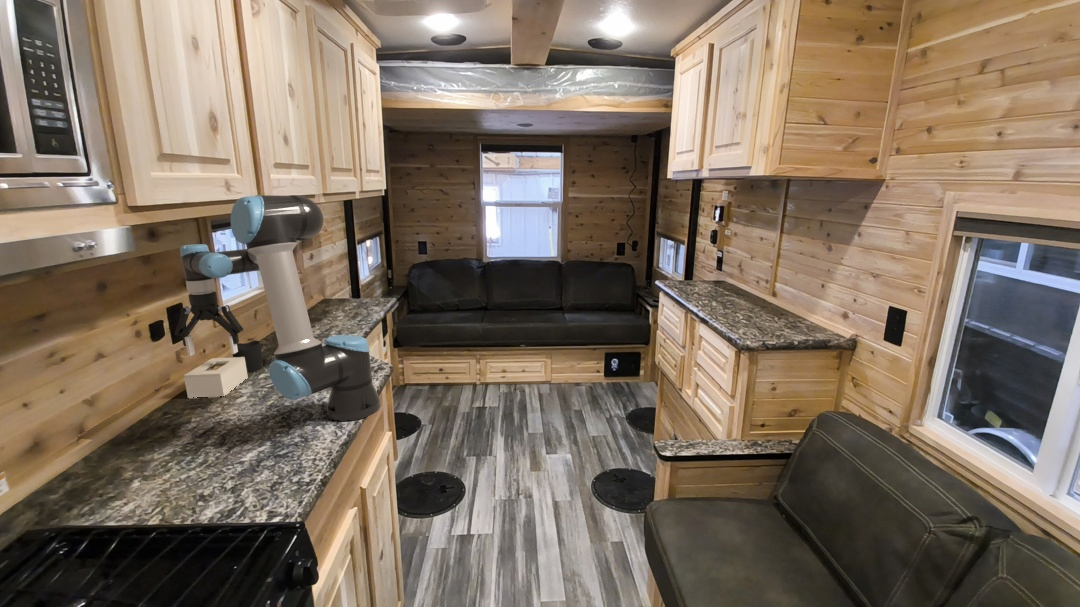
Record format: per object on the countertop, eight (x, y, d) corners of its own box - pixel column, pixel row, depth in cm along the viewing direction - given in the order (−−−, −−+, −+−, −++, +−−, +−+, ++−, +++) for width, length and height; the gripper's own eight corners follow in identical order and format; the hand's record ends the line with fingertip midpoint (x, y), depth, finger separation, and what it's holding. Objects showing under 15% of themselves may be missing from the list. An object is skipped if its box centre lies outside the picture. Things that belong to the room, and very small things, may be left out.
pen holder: (251, 374, 173) (247, 348, 171) (229, 373, 175) (224, 347, 172) (269, 365, 182) (266, 340, 180) (248, 364, 184) (244, 340, 181)
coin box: (224, 396, 155) (219, 373, 153) (188, 398, 153) (183, 375, 152) (248, 377, 170) (244, 356, 168) (215, 379, 169) (211, 358, 167)
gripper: (248, 288, 159) (257, 348, 164) (168, 291, 156) (180, 351, 161) (236, 293, 152) (247, 355, 157) (153, 295, 149) (166, 359, 154)
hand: (213, 353), depth 159 cm, fingers open, 13 cm apart
